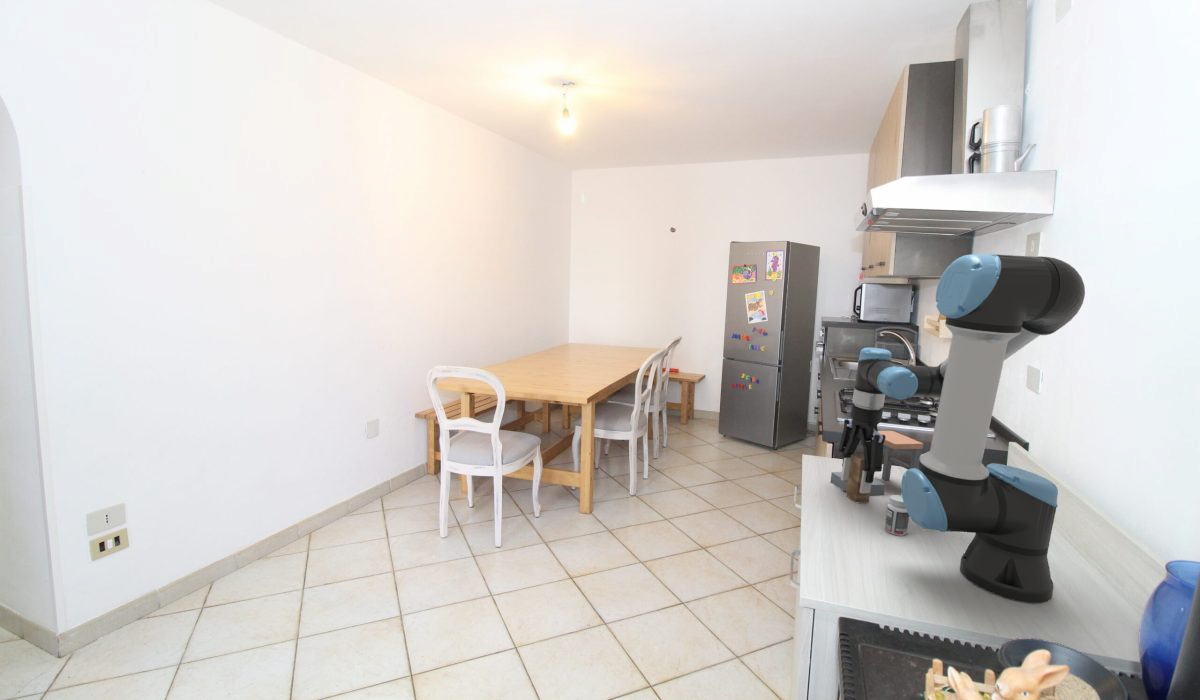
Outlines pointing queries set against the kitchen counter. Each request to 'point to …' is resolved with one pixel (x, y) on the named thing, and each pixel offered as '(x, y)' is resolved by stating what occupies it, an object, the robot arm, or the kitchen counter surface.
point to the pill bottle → (896, 516)
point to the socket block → (876, 485)
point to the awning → (899, 442)
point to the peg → (856, 479)
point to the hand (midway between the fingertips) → (855, 486)
